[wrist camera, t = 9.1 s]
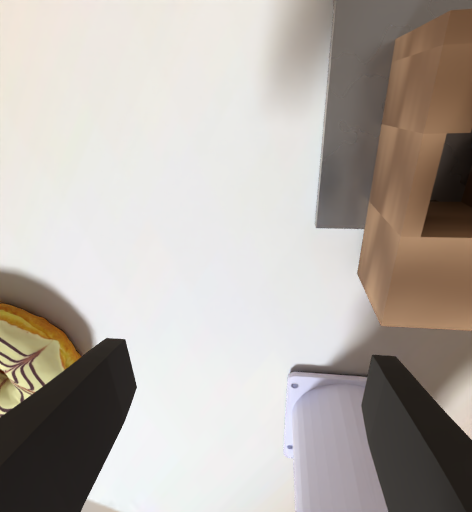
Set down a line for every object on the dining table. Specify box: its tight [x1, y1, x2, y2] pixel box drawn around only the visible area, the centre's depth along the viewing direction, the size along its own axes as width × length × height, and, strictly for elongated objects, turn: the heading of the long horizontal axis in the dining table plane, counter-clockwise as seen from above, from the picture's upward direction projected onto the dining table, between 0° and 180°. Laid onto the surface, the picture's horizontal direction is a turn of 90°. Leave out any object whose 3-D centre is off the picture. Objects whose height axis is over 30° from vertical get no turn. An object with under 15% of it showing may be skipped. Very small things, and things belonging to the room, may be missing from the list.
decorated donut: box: [0, 303, 81, 417], centre depth 23 cm, size 10×11×4 cm
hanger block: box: [357, 9, 472, 331], centre depth 13 cm, size 11×5×5 cm, turn 2°
